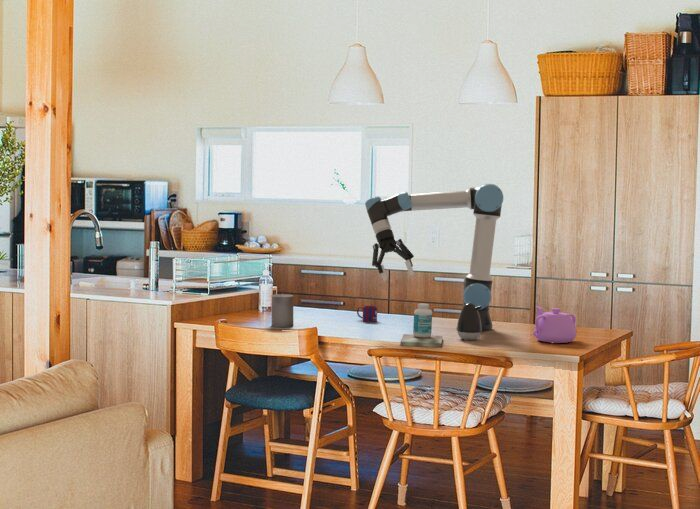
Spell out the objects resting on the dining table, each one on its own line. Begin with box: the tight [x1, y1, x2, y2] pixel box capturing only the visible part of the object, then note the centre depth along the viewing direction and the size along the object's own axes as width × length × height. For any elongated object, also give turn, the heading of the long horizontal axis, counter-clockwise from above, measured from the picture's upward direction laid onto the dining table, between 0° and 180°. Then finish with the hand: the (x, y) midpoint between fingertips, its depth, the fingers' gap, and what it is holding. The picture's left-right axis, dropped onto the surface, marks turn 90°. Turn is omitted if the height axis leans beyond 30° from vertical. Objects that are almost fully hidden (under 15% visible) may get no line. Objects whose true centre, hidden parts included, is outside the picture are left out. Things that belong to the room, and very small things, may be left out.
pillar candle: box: [271, 293, 294, 328], centre depth 415 cm, size 10×10×15 cm
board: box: [399, 333, 443, 348], centre depth 378 cm, size 16×20×2 cm
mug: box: [356, 305, 378, 323], centre depth 438 cm, size 7×10×7 cm
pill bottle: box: [412, 302, 433, 338], centre depth 383 cm, size 8×7×14 cm
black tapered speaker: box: [456, 303, 483, 341], centre depth 388 cm, size 10×10×15 cm
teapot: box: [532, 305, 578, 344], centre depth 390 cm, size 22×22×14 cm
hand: (399, 277), depth 401 cm, fingers open, 13 cm apart
